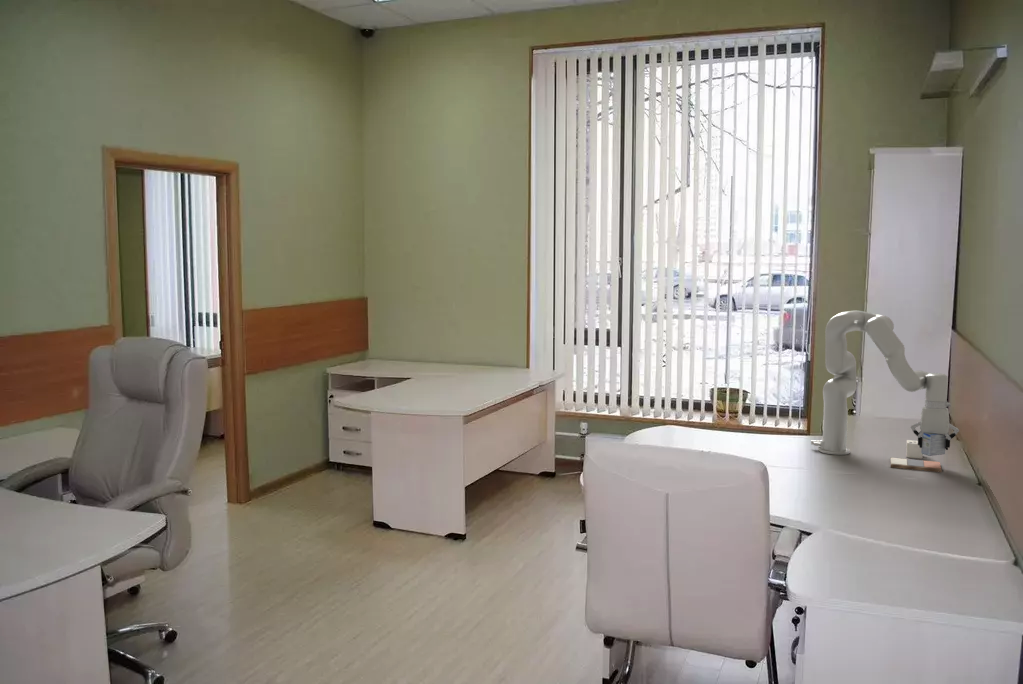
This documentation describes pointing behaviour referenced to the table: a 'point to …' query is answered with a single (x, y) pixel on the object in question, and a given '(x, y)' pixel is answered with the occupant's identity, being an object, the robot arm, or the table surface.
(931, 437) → the medicine box
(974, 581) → the table surface
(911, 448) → the die
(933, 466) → the striped colour swatch board
